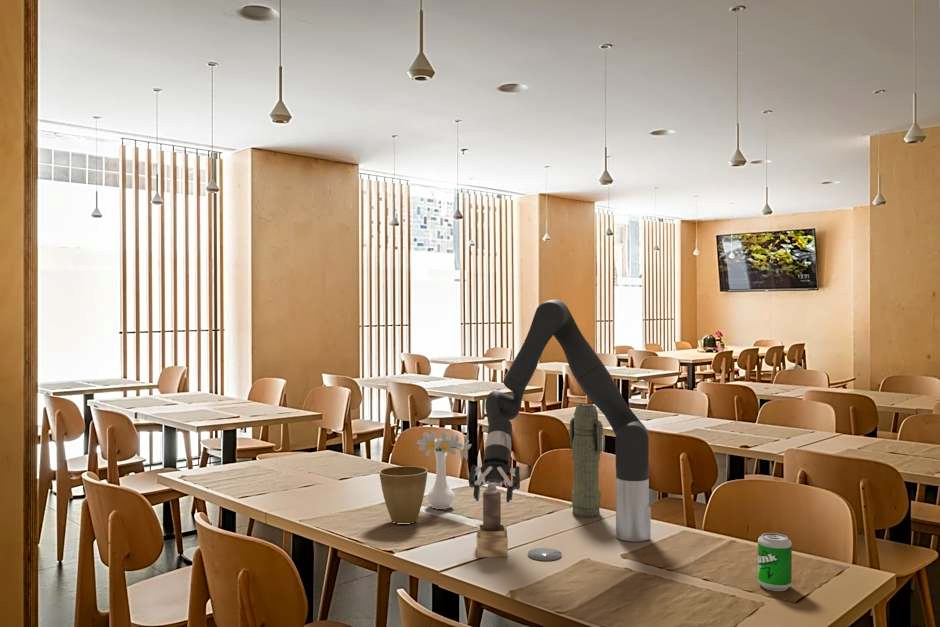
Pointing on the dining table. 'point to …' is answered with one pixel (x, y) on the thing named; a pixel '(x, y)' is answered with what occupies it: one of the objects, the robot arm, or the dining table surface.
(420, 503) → the plant pot
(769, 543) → the soda can
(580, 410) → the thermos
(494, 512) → the pepper mill
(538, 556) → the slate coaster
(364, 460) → the dining table surface
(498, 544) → the oak caddy
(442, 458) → the flower vase
